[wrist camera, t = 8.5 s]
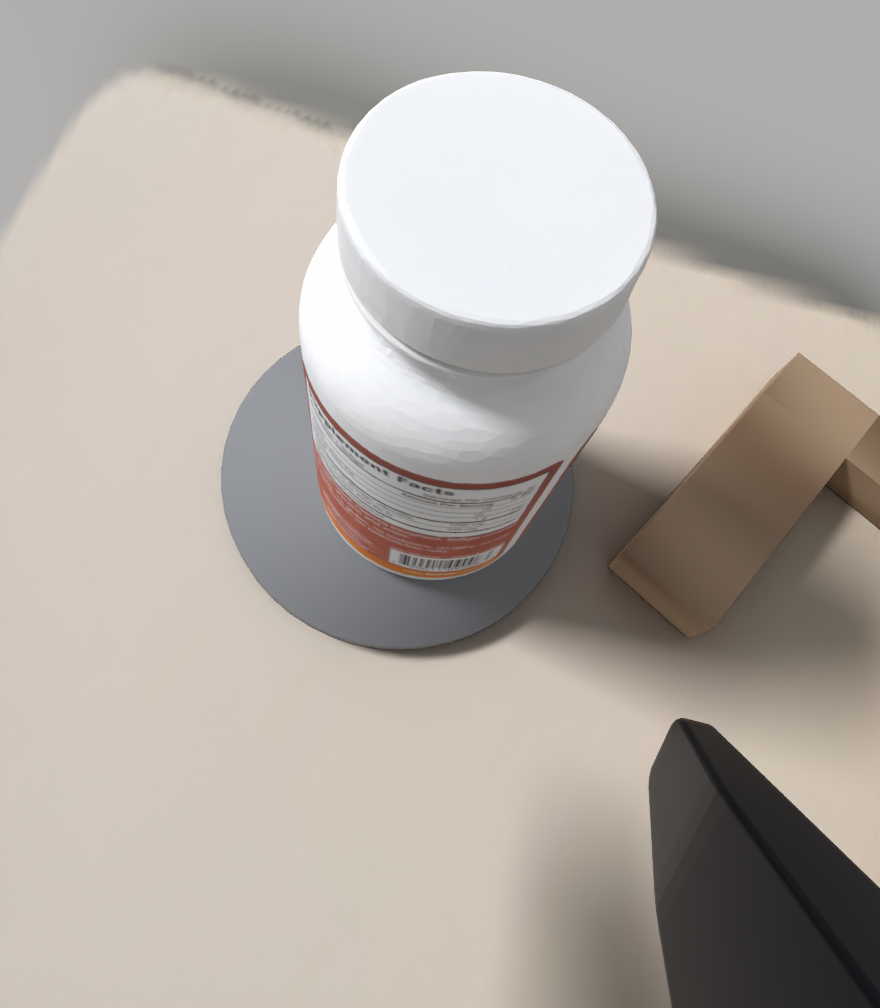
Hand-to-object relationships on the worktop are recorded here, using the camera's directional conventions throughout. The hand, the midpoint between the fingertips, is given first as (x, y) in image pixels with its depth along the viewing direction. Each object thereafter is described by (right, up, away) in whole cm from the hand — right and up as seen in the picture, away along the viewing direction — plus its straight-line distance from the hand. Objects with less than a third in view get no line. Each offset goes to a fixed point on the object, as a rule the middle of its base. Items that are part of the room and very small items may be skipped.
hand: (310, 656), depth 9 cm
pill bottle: (+1, +2, +12) cm, 12 cm away
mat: (0, +3, +12) cm, 13 cm away
